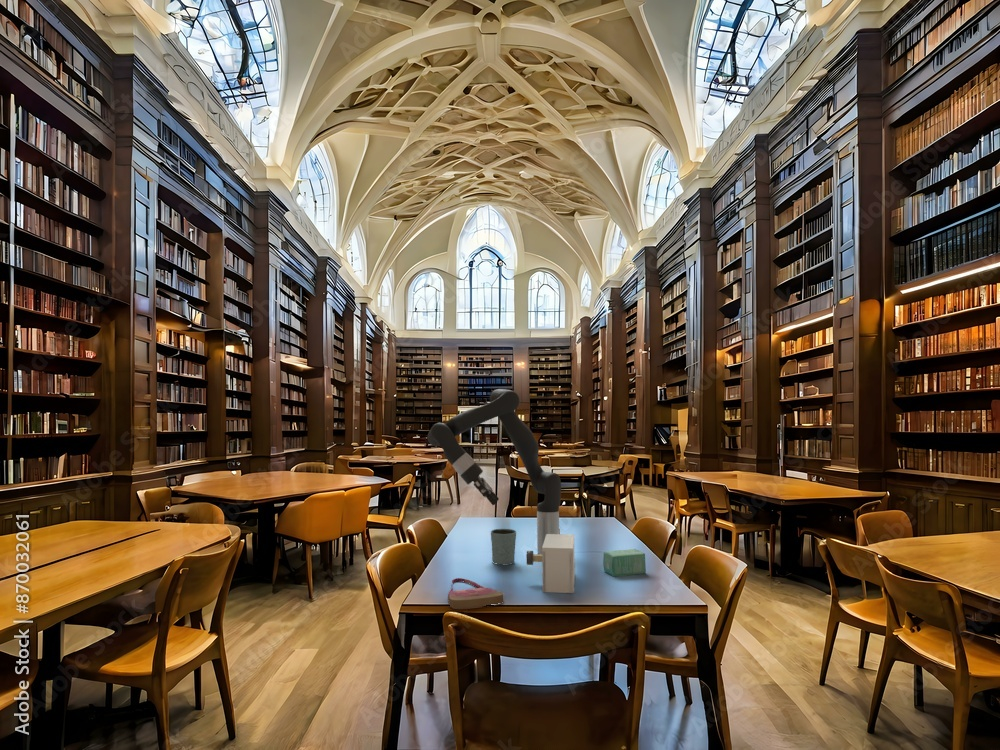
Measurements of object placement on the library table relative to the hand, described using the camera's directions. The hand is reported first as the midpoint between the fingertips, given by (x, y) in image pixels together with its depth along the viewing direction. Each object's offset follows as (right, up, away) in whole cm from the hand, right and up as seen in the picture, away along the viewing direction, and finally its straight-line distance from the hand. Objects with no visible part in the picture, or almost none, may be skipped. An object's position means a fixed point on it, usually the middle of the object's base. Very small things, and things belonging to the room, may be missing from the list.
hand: (496, 502), depth 202 cm
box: (+46, -26, 0) cm, 53 cm away
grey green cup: (+3, -27, +15) cm, 31 cm away
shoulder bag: (-9, -24, -24) cm, 35 cm away
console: (+22, -24, -13) cm, 35 cm away
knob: (+15, -19, -11) cm, 26 cm away
